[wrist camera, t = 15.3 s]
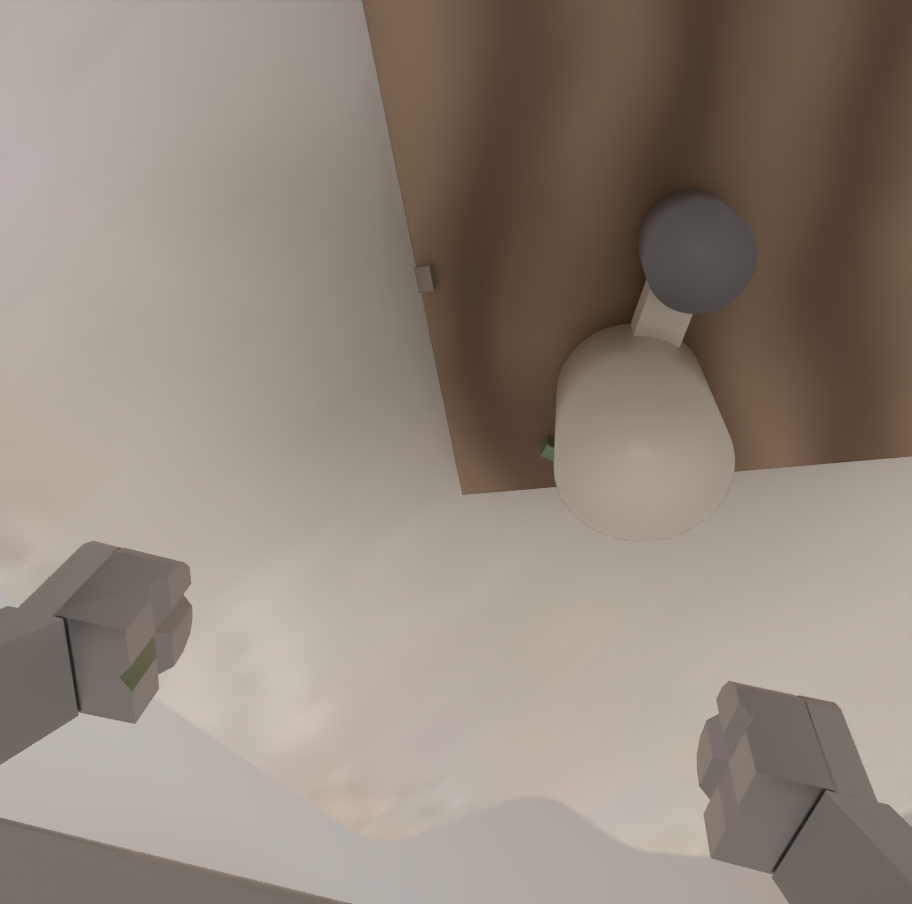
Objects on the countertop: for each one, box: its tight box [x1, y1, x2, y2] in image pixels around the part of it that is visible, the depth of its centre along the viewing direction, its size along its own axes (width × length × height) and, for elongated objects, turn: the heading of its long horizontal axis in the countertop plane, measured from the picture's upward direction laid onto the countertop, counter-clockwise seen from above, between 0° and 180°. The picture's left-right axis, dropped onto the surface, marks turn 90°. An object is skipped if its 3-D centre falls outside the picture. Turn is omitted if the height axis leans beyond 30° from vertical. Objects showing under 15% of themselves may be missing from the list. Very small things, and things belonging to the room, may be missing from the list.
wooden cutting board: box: [362, 0, 912, 495], centre depth 28 cm, size 21×21×2 cm
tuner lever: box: [554, 189, 758, 541], centre depth 27 cm, size 11×6×6 cm, turn 167°
